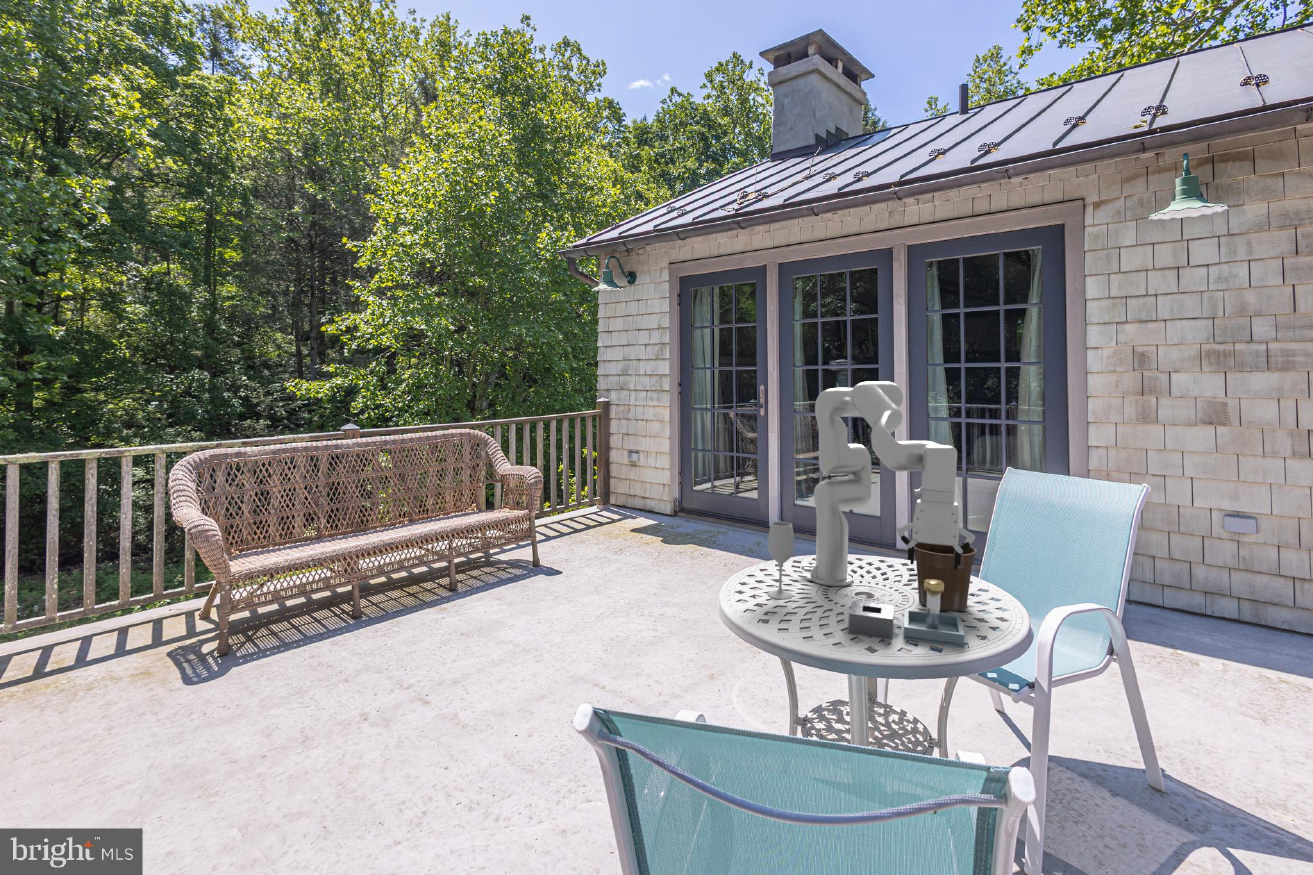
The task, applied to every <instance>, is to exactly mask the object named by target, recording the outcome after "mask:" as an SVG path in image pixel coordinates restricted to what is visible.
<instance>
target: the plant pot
mask: <svg viewBox="0 0 1313 875" xmlns="http://www.w3.org/2000/svg"><path fill="white" fill-rule="evenodd" d="M958 543H959V542H958ZM961 544H962V543H959V545H961ZM954 551H955V548H954V547H953V546H946V545H936V544H927V543H919V542H917V543H916V544H915V545H914V561H915V562H916V563H915V566H916V575H917V576H916V578H917V592H918V601H919V603H920V604H921V605H923V606H924V607H927V591H925V590H924V581H925V580H928V579H933V580H939V581H942V582H944V592H943V593H941V594H940V610H942V611H952V612H955V611H962V610H964V609H966V608H967V605H968V597H969V590H970V583H971V574H972V567H973V566H974V564H975V562H974V561H975V556H976V554H977V552H978V550H977V548H975V547H973V546H971V545H970V547H969V548H967V549H966V550H965V551H963V553H961V564H960V566H958V565H957V570H955V569H954V567H953V560H954Z"/></svg>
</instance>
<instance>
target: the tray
mask: <svg viewBox="0 0 1313 875" xmlns="http://www.w3.org/2000/svg"><path fill="white" fill-rule="evenodd" d="M903 616H904V617H903V618H904V619H903V640H907V641H915V642H920V643H921V642H922V643H929V644H935V645H936V644H937V645H943V646H949V647H957V648H965V632H964V627H963V622H962V616H961V615H953V614H946V613H940V619H939V630H935V629H927V628H926V611H922V610H915V609H907V608H904V615H903Z"/></svg>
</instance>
